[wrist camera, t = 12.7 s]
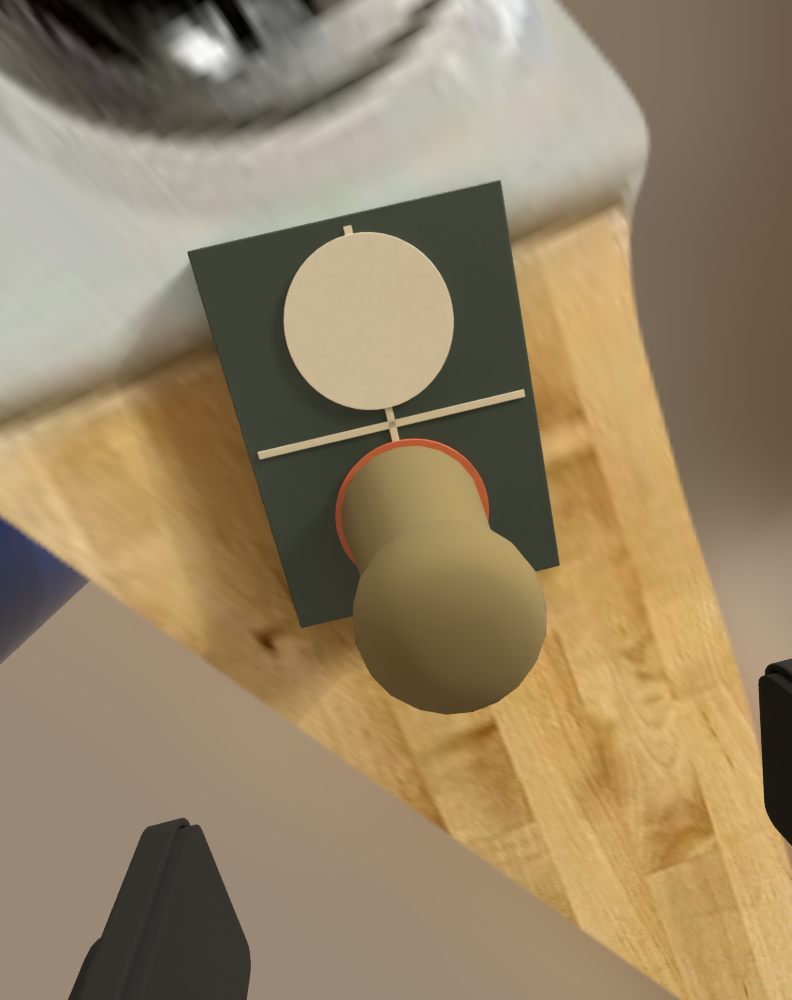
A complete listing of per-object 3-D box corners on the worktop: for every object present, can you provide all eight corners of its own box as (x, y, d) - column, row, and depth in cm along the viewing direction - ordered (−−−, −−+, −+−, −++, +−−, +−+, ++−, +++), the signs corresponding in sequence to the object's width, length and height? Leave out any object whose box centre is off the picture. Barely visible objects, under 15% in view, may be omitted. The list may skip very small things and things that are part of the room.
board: (303, 616, 27) (300, 630, 26) (194, 255, 22) (185, 250, 21) (551, 556, 27) (561, 567, 26) (492, 187, 23) (502, 177, 21)
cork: (335, 577, 25) (327, 750, 14) (346, 439, 23) (345, 521, 13) (471, 584, 26) (559, 757, 15) (490, 451, 24) (603, 539, 13)
